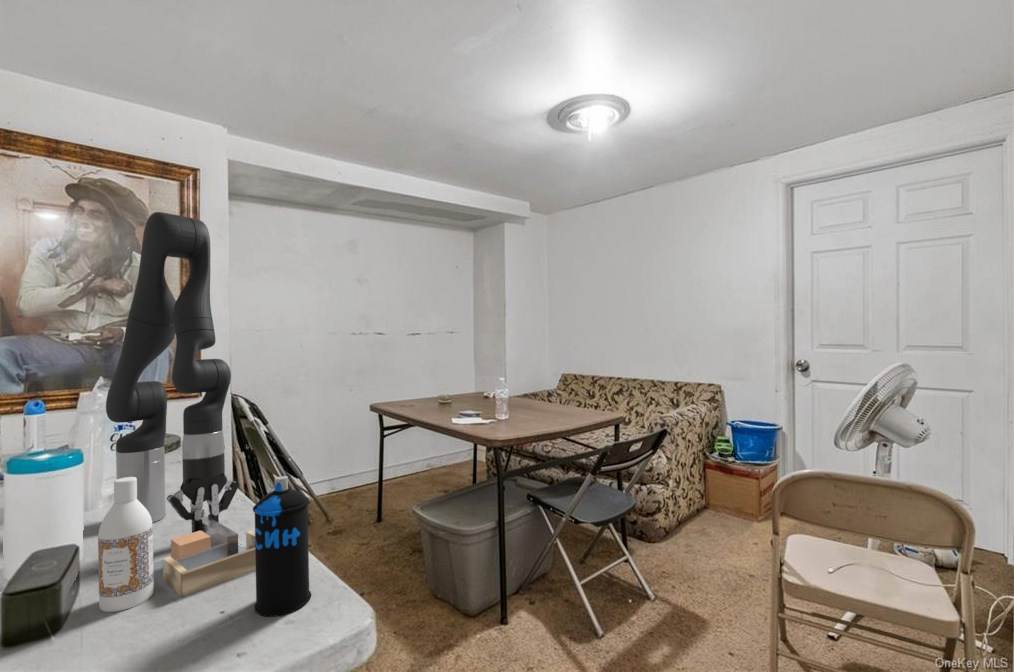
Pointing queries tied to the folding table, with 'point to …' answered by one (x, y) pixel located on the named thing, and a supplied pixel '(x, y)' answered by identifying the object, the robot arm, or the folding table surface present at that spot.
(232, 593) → the folding table surface
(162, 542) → the folding table surface
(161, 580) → the mat
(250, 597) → the folding table surface
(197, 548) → the block
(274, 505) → the aerosol can
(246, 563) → the stall
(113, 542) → the bath foam
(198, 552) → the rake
